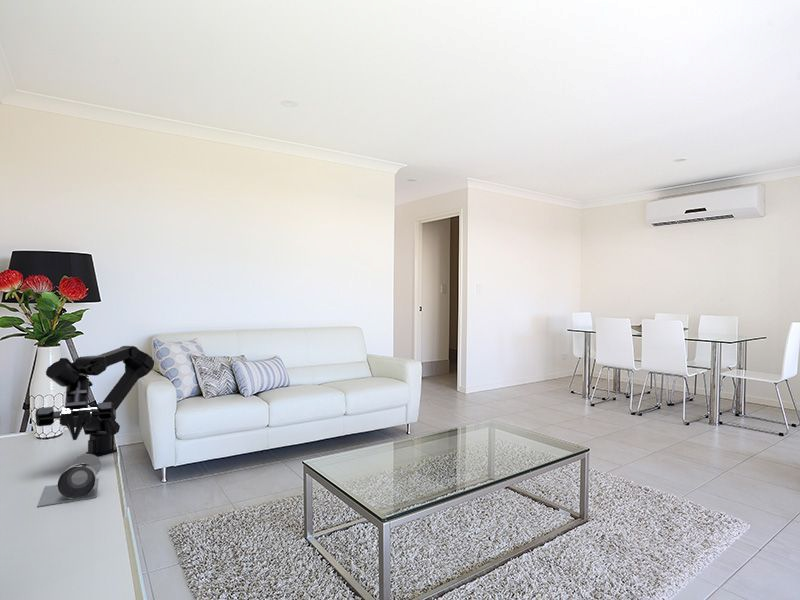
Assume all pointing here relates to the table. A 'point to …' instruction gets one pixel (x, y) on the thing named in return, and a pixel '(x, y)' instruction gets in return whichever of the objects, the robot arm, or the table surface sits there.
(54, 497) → the placemat
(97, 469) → the wine glass
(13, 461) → the table surface
